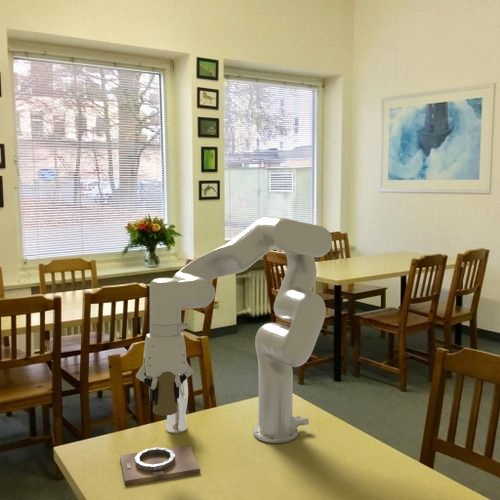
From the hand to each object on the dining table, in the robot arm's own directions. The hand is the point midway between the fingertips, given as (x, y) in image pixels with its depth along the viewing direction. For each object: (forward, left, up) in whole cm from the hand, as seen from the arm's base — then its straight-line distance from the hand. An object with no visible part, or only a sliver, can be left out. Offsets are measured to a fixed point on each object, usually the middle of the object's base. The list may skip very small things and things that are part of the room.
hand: (165, 401), depth 136 cm
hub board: (+2, -1, -17) cm, 17 cm away
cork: (0, 0, -2) cm, 2 cm away
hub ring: (+3, -1, -16) cm, 16 cm away
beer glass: (-6, -21, -17) cm, 28 cm away
